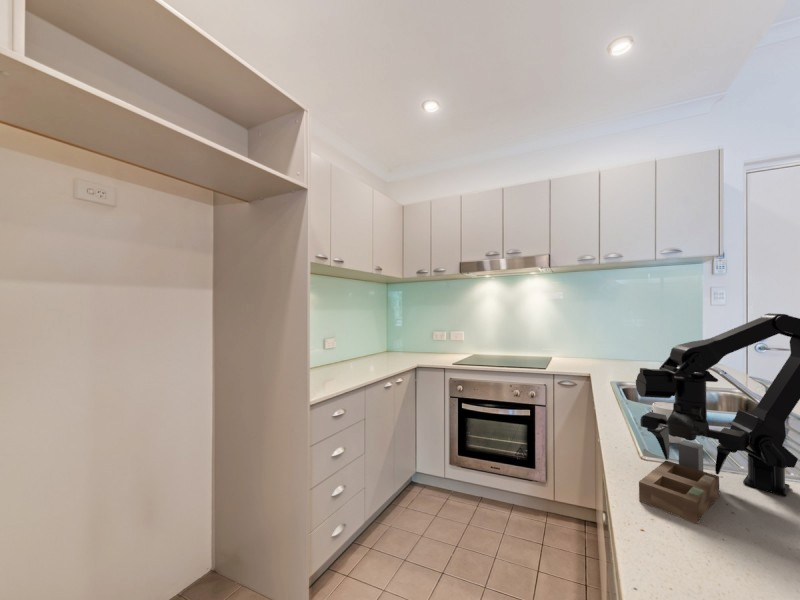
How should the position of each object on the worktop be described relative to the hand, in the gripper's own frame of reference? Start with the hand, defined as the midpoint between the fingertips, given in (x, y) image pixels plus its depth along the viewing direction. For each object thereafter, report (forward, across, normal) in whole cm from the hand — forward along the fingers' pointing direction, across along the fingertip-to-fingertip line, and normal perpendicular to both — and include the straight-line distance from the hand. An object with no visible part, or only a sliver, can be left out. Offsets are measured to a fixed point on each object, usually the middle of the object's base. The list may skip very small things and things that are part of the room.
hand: (691, 466), depth 81 cm
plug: (+3, 0, 0) cm, 3 cm away
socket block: (+3, +1, -12) cm, 12 cm away
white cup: (+3, -11, +24) cm, 27 cm away
